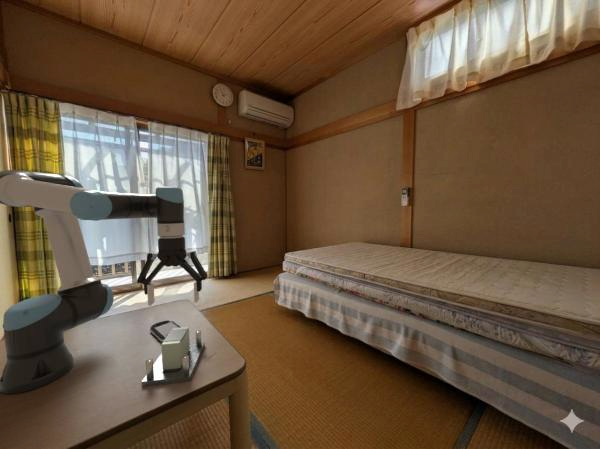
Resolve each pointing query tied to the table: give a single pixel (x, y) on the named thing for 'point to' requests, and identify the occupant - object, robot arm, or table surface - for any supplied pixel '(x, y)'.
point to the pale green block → (175, 348)
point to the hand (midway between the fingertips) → (174, 302)
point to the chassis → (183, 374)
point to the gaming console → (163, 329)
